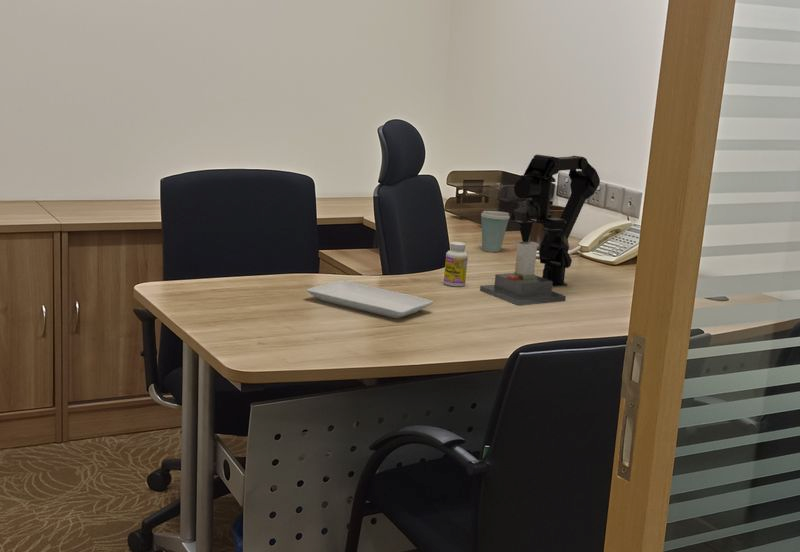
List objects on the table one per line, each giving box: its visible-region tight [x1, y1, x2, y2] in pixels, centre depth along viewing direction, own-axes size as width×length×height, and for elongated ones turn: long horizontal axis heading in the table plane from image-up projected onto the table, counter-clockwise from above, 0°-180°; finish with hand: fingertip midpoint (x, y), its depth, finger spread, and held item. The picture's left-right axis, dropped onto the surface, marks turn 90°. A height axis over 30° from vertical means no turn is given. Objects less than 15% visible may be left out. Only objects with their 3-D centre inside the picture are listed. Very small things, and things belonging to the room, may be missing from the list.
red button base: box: [479, 272, 567, 306], centre depth 275 cm, size 18×18×6 cm
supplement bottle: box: [443, 241, 469, 288], centre depth 283 cm, size 7×7×13 cm
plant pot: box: [528, 204, 565, 251], centre depth 357 cm, size 16×16×16 cm
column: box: [513, 241, 539, 280], centre depth 274 cm, size 6×4×11 cm
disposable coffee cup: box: [480, 210, 511, 253], centre depth 344 cm, size 11×11×15 cm
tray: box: [305, 279, 434, 319], centre depth 251 cm, size 17×32×4 cm, turn 57°
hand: (535, 247), depth 284 cm, fingers open, 9 cm apart
